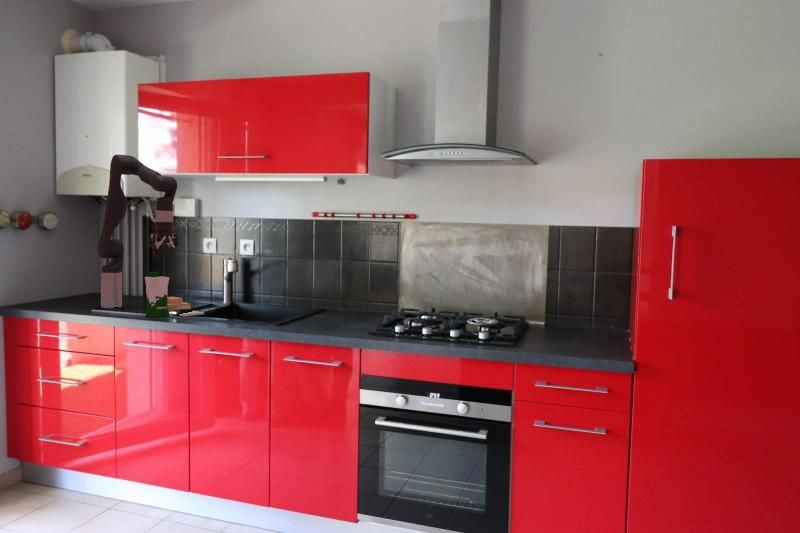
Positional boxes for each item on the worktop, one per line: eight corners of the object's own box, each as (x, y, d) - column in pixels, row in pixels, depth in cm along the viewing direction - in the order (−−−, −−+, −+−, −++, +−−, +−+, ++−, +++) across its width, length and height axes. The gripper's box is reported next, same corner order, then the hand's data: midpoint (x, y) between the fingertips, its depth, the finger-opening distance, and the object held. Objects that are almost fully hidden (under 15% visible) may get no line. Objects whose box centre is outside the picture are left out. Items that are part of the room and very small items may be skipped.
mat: (168, 314, 309) (168, 312, 309) (190, 311, 318) (190, 310, 318) (181, 316, 302) (181, 314, 302) (204, 314, 312) (204, 312, 312)
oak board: (153, 311, 316) (153, 302, 316) (175, 308, 326) (175, 300, 325) (168, 313, 309) (168, 305, 308) (190, 311, 318) (190, 303, 318)
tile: (161, 302, 317) (161, 297, 317) (172, 301, 322) (172, 296, 322) (171, 304, 312) (171, 299, 312) (182, 303, 317) (182, 298, 317)
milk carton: (159, 314, 307) (159, 271, 305) (171, 316, 302) (171, 272, 300) (142, 316, 299) (142, 272, 298) (155, 318, 294) (155, 273, 293)
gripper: (170, 220, 305) (170, 255, 307) (145, 220, 293) (145, 256, 294) (182, 221, 302) (181, 256, 303) (157, 221, 289) (157, 257, 291)
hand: (163, 256), depth 299 cm, fingers open, 8 cm apart
